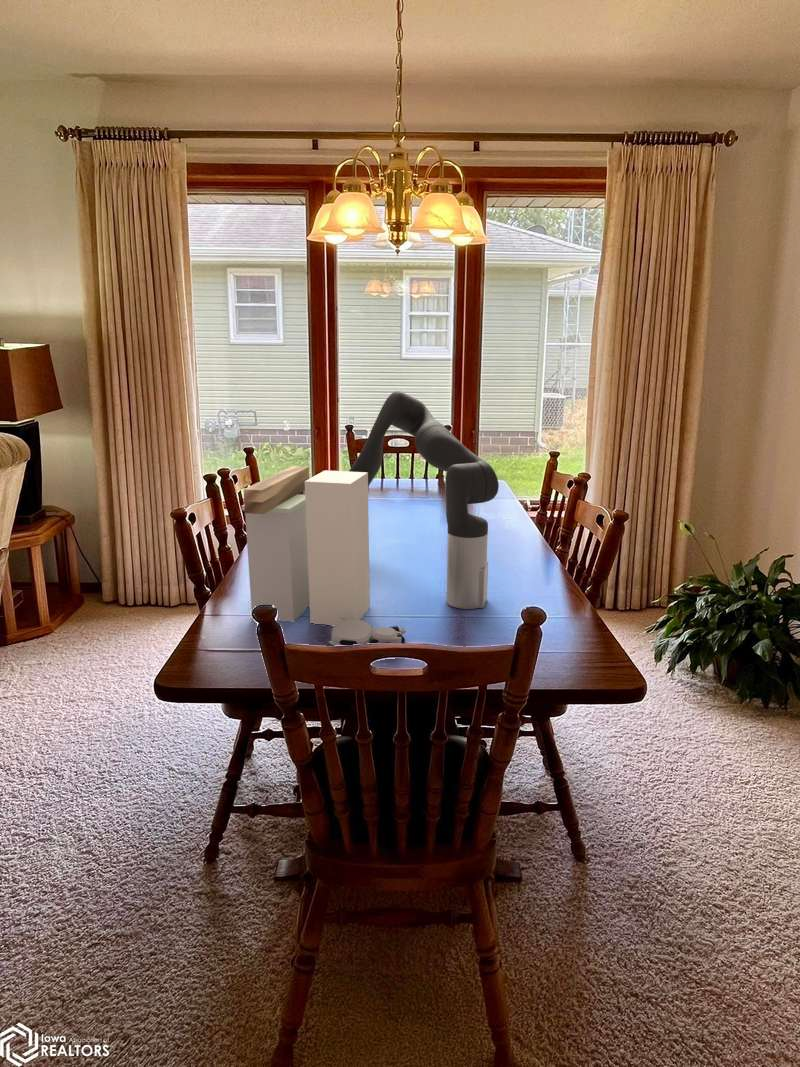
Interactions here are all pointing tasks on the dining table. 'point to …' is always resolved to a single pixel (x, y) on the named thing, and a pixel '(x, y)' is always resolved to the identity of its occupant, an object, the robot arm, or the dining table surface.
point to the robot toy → (364, 633)
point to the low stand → (279, 558)
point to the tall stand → (337, 546)
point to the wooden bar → (275, 490)
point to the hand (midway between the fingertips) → (312, 492)
